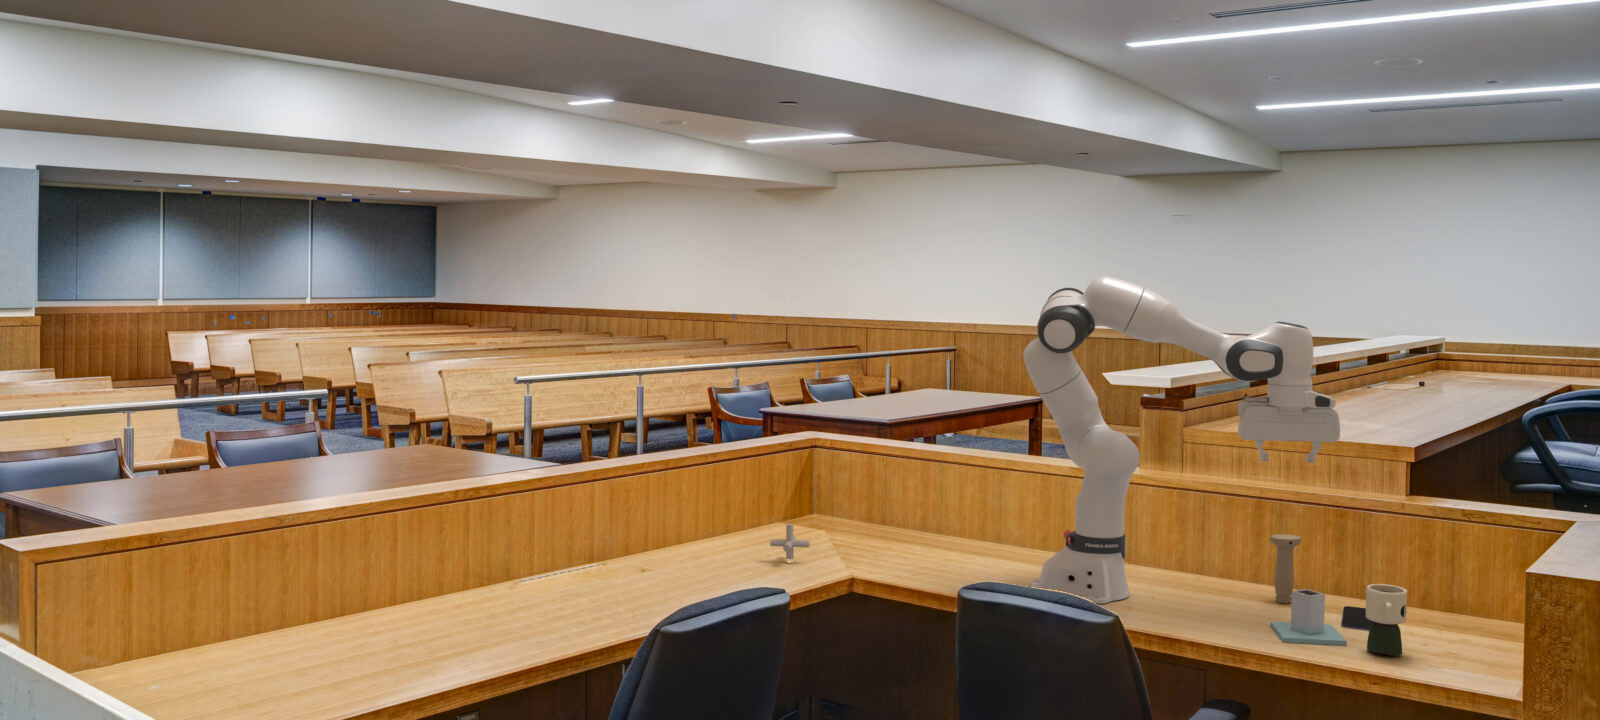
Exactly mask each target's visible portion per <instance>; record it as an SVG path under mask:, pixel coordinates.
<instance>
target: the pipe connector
mask: <svg viewBox="0 0 1600 720" xmlns="http://www.w3.org/2000/svg"><path fill="white" fill-rule="evenodd" d="M785 530H786V531H785V533H786V536H785V537H786V539H778V538H777V539H775V538H770V539H769V540H770V541H769V545H770V547H783V548H782V549H783V551H784V552H786V554H785V555H786V556H785V557H786V559H790V560H791V559H793V560H794V548H808V549H809V548H810V540H808V539H807V540H801V539H797V537H796V535H794V523H786V528H785Z"/></svg>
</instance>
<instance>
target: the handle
mask: <svg viewBox="0 0 1600 720" xmlns="http://www.w3.org/2000/svg"><path fill="white" fill-rule="evenodd" d="M1301 542H1302V537H1301V536H1298V535H1293V534H1272V535H1270V543H1272V544H1273V545H1275V547H1276V550H1277V551H1276V560H1275V561H1276V562H1275V571H1274V591H1275V594H1276V595H1275V601H1276V602H1278V603H1280V604H1290V603H1291V604H1292V591H1294V583H1295V580H1294V579H1295V575H1294V574H1295V570H1294V569H1295V568H1294V548H1295V547H1297V546H1299V545H1301V544H1302V543H1301Z"/></svg>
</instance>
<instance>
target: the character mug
mask: <svg viewBox="0 0 1600 720" xmlns="http://www.w3.org/2000/svg"><path fill="white" fill-rule="evenodd" d="M1365 594H1366V596H1365V597H1366V598H1365V608H1366V618H1367V619H1369V620H1371V621H1374V622H1372V623H1371V625H1370V630H1369V631H1368V636H1367V643H1366V650H1368V651H1370V652H1373V653H1379V654H1382V655H1383V656H1384V657H1385V656H1387V655H1389V656H1401V655H1402V654H1403V643H1402V633H1401V628H1400V626H1399V625H1400V624H1404V623H1406V621H1407V613H1408V612H1407V611H1408V610H1407V609H1408V607H1407V605H1408V604H1407V603H1408V590H1407V589H1406V588H1404V587H1401V586H1398V585H1392V584H1387V583H1385V584H1384V583H1374V584H1373V583H1371V584H1368V585H1367V586H1366V592H1365Z"/></svg>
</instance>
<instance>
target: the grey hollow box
mask: <svg viewBox="0 0 1600 720" xmlns="http://www.w3.org/2000/svg"><path fill="white" fill-rule="evenodd" d="M1291 597H1292V600H1291V611H1290V613H1291V615H1290V622H1291V629H1292V630H1295V631H1298V632H1301V633H1304V634H1307V635H1314V634H1319V633H1323V632H1324V624H1325V608H1326V607H1325V606H1326V604H1325V603H1326V601H1325V600H1326V594H1325V593H1322V592H1318V591H1315V590H1312V589H1308V588H1302V589H1297V590H1293V591H1292V596H1291Z"/></svg>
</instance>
